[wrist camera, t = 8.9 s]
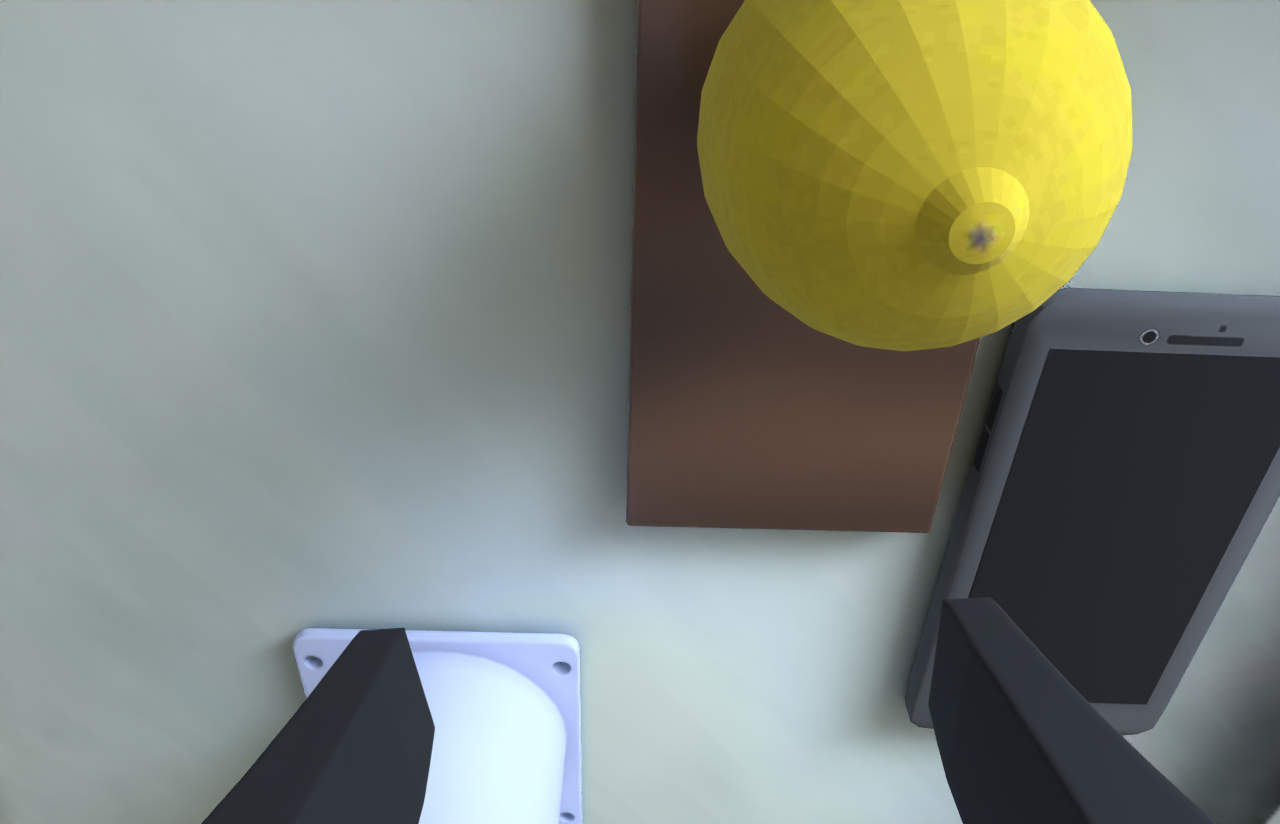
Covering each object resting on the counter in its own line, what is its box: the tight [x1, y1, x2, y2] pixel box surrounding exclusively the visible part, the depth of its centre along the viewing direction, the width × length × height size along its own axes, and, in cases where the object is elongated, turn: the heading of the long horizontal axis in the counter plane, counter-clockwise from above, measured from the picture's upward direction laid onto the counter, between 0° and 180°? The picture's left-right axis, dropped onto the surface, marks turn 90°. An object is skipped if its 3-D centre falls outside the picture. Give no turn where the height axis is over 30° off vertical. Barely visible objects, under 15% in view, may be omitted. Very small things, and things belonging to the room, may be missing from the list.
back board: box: [626, 0, 980, 533], centre depth 16 cm, size 20×8×1 cm, turn 179°
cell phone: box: [905, 288, 1280, 735], centre depth 22 cm, size 7×14×1 cm, turn 178°
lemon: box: [697, 0, 1133, 352], centre depth 12 cm, size 6×6×8 cm
